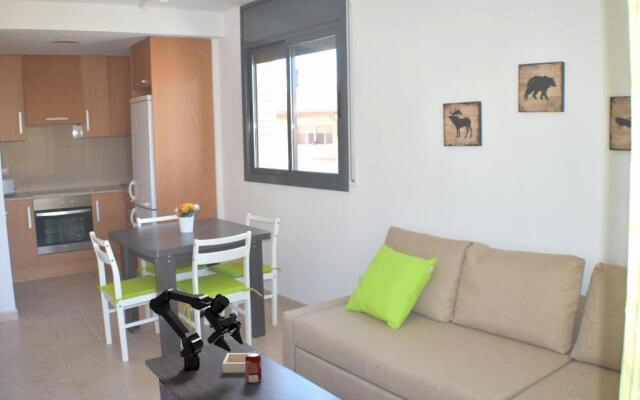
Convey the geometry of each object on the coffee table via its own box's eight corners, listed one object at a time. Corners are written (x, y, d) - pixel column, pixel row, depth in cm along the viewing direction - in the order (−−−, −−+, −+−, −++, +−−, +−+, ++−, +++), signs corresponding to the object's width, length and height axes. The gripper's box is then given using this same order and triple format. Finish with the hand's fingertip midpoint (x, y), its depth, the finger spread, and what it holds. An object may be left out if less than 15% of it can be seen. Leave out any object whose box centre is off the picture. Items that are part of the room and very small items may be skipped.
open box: (222, 373, 259) (222, 363, 258) (227, 362, 271) (227, 353, 271) (250, 373, 259) (250, 363, 258) (254, 362, 271) (254, 352, 270)
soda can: (258, 384, 246) (258, 357, 245) (243, 383, 248) (242, 356, 246) (263, 378, 253) (262, 351, 252) (248, 377, 254) (247, 350, 253)
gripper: (212, 314, 245) (234, 344, 241) (237, 302, 262) (259, 330, 258) (197, 329, 249) (219, 359, 246) (223, 317, 266) (244, 344, 262)
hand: (236, 347), depth 253 cm, fingers open, 9 cm apart
